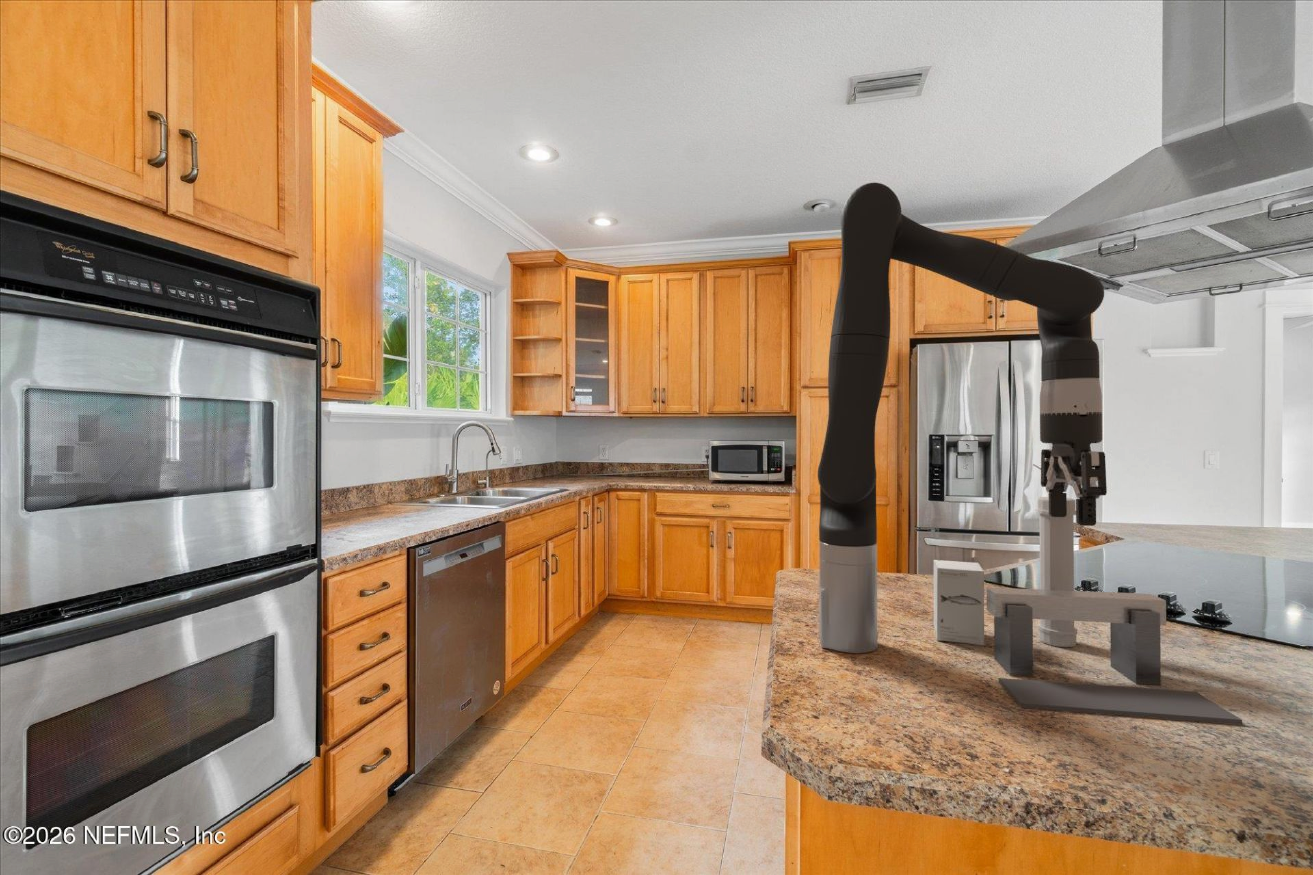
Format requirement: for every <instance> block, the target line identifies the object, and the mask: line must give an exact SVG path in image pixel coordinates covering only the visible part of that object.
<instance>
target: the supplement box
mask: <svg viewBox="0 0 1313 875" xmlns="http://www.w3.org/2000/svg"><path fill="white" fill-rule="evenodd" d="M980 564H981V563H979V562H971V561H970V562H969V561H957V560H954V561H953V560H943V559H942V560H940V559H933V629H934V635H935V638H936V641H937V642H939V641H942V642H943V641H945V642H953V643H961V644H962V643H963V644H969V645H976V646H981V647H982V646H985V570H984V569H983V567H982V566H981V565H980Z"/></svg>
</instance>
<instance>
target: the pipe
mask: <svg viewBox="0 0 1313 875" xmlns="http://www.w3.org/2000/svg"><path fill="white" fill-rule="evenodd" d="M1032 466H1034V467H1035V468H1037V469H1039V470H1040V471H1041V467H1039V466H1038V465H1037V464H1034V463H1033V464H1032ZM1036 513H1037V514H1039V590H1064V591H1075V575H1074V574H1075V562H1074V561H1075V559H1074V558H1075V557H1074V555H1075V552H1074V551H1075V550H1074V548H1075V547H1074V546H1075V545H1074V544H1075V543H1074V540H1075V539H1074V537H1075V534H1074V528H1075V527H1074V516H1076V499H1074V498H1071V497H1067V515H1066V516H1065V517H1052V516H1050V515H1049V496H1040V497H1038V498H1037V508H1036ZM1039 620H1040V621H1039V622H1038V623H1037V625H1036V626H1037V627H1036V628H1037V629H1038V633H1037V634H1038V639H1039V641H1040V642H1041V643H1044V644H1046V645H1050V646H1053V647H1057V648H1058V647H1059V648H1072V647H1075V646H1076V645H1077V634H1078V629H1077V628H1076V627H1075V621H1067V620H1046V619H1039Z"/></svg>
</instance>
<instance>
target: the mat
mask: <svg viewBox="0 0 1313 875" xmlns="http://www.w3.org/2000/svg"><path fill="white" fill-rule="evenodd" d="M998 683H999V685H1001V686H1002V688H1003V689H1004V690H1005V691H1006V692H1007V693H1008V695H1009V696H1010V697H1011V698H1012V699H1013V700H1014V701H1015V703H1016V704H1018V706H1020V708H1021V709H1032V710H1044V711H1045V710H1046V711H1058V712H1059V711H1060V712H1069V713H1071V712H1072V713H1082V714H1083V713H1086V714H1098V715H1107V716H1109V715H1110V716H1124V717H1135V718H1149V719H1162V720H1173V721H1174V720H1176V721H1189V722H1200V723H1214V724H1227V725H1241V726H1243V719H1241V718H1240V717H1238V716H1237V715H1235V714H1233V713H1232V712H1230V711H1229V710H1227V709H1225V708H1223V707H1222V706H1220V705H1219V704H1217V703H1216V702H1214V701H1212V700H1211V699H1209V698H1208V697H1207V696H1204V695H1203V694H1201V693H1199V692H1198V691H1196V690H1186V689H1185V690H1184V689H1183V690H1181V689H1167V688H1154V687H1153V688H1152V687H1139V686H1122V685H1108V684H1093V683H1079V682H1078V683H1076V682H1066V681H1065V682H1062V681H1051V680H1050V681H1049V680H1038V679H1037V680H1033V679H1018V678H1007V677H1006V678H1004V677H998Z"/></svg>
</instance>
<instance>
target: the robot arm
mask: <svg viewBox="0 0 1313 875" xmlns="http://www.w3.org/2000/svg"><path fill="white" fill-rule="evenodd" d="M840 231H841V233H840V234H841V262H840V263H841V266H840V277H839V284H838V289H837V295H836V299H835V305H834V306H835V307H834V310H833V319H832V327H831V333H830V343H829V353H828V355H829V356H828V373H827V374H828V376H827V378H828V379H827V383H828V384H827V391H828V392H827V394H828V395H827V396H828V398H827V399H828V415H827V416H828V417H827V418H828V419H827V425H826V431H825V437H824V442H823V446H822V447H823V448H822V452H821V456H820V461H819V465H818V469H817V482H818V485H819V498H820V499H819V502H820V503H819V506H820V509H819V510H820V511H819V525H818V533H819V534H818V535H819V538H818V539H819V543H818V544H819V581H818V638H819V642H820V647H821V648H823V649H830V650H833V651H837V652H842V653H850V654H863V653H864V654H865V653H869V652H873V651H875V650H876V649H878V644H879V643H878V639H879V632H878V631H879V630H878V628H879V627H878V543H877V542H878V536H877V535H878V527H877V526H878V523H877V522H878V521H877V520H878V519H877V518H878V516H877V468H876V421H877V414H878V408H879V405H880V401H881V396H882V393H883V388H884V384H885V378H886V372H887V366H888V360H889V359H888V358H889V349H890V337H891V298H890V285H889V284H890V279H889V275H890V264H891V260H893V261H897V262H901V263H904V264H908V265H913V266H914V267H919V268H921V269H925V270H927V271H930V272H932V273H935V274H937V275H940V276H943V277H945V278H948V279H950V280H953V281H955V282H957V283H960V284H962V285H965V286H966V287H969V288H971V289H974V290H976V291H979V292H980V293H984V294H986V295H988V296H993V298H996V299H999V300H1003V301H1007V302H1008V301H1009V302H1011V301H1019V302H1022V303H1024V304H1026V305H1029V306H1031V307H1032V306H1033V307H1036V318H1037V328H1038V333H1039V334H1038V335H1039V340H1040V345H1041V362H1040V363H1041V366H1040V369H1041V386H1040V392H1039V393H1040V394H1039V435H1040V436H1039V439H1040V440H1039V441H1040V442H1041V443H1043V444H1051V449H1050V448H1049V449H1048V448H1047V449H1041V451H1040V452H1041V453H1040V468H1041V470H1040V486H1041V487H1043V488H1044V487H1045V491H1046V492H1047V493H1048V497H1049V515H1050V516H1052V517H1065V516H1066V515H1067V498H1068V497H1067V495H1068V493H1067V490H1068V487H1069V486H1071V487H1072V488H1073V491H1074V494H1075V496H1076V498H1075V511H1076V515H1075V522H1076V524H1077V525H1079V526H1082V527H1085V526H1086V527H1089V526H1090V527H1094V526H1095V525H1096V524H1097V499H1099V498H1100V497H1101V496H1106V495H1107V494H1108V493H1107V492H1108V490H1107V489H1108V487H1107V472H1106V471H1107V467H1106V454H1105V452H1104V451H1092V448H1091V444H1100V443H1101V442H1102V441H1103V394H1102V387H1101V382H1100V381H1101V380H1100V377H1101V376H1100V351H1099V346H1098V344H1097V342H1096V341H1094V340H1093V337H1092V335H1093V334H1092V314H1094V312H1096V311H1097V310H1098V309H1099V308H1100V307H1101V305H1102V303H1103V300H1104V298H1105V289H1104V285H1103V283H1102V282H1101V280H1100V279H1099V278H1098V277H1097V276H1096V275H1095V274H1092V273H1091V272H1089V271H1087V270H1085V269H1082V268H1079V267H1076V266H1073V265H1070V264H1065V263H1061V262H1055V261H1051V260H1046V259H1041V258H1035V257H1031V256H1029V255H1027V254H1024V253H1022V252H1019V251H1017V250H1015V249H1011V248H1010V247H1007V246H1003V245H1001V244H998V243H996V242H993V241H990V240H985V239H982V238H978V237H973V236H968V235H967V236H966V235H961V234H953V233H950V232H943V231H940V230H937V229H933V228H930V227H927V226H924V225H922V224H921V223H918V222H916V221H914V220H913V219H911V218H909V217H908V216H906V215H905V214H902V206H901V201H900V200H899V198H898V196H897V195H896V193H895V192H894V191H893V190H892V189H891V188H890V187H889V186H887V185H886V184H883V183H880V182H868V183H865V184H863V185H860V186H859V187H857V188H856V189H855V190H853V192H851V194H850V195H849V196H848V197H847V199H846V201H845V202H844V204H843V207H842V210H841V214H840Z"/></svg>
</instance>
